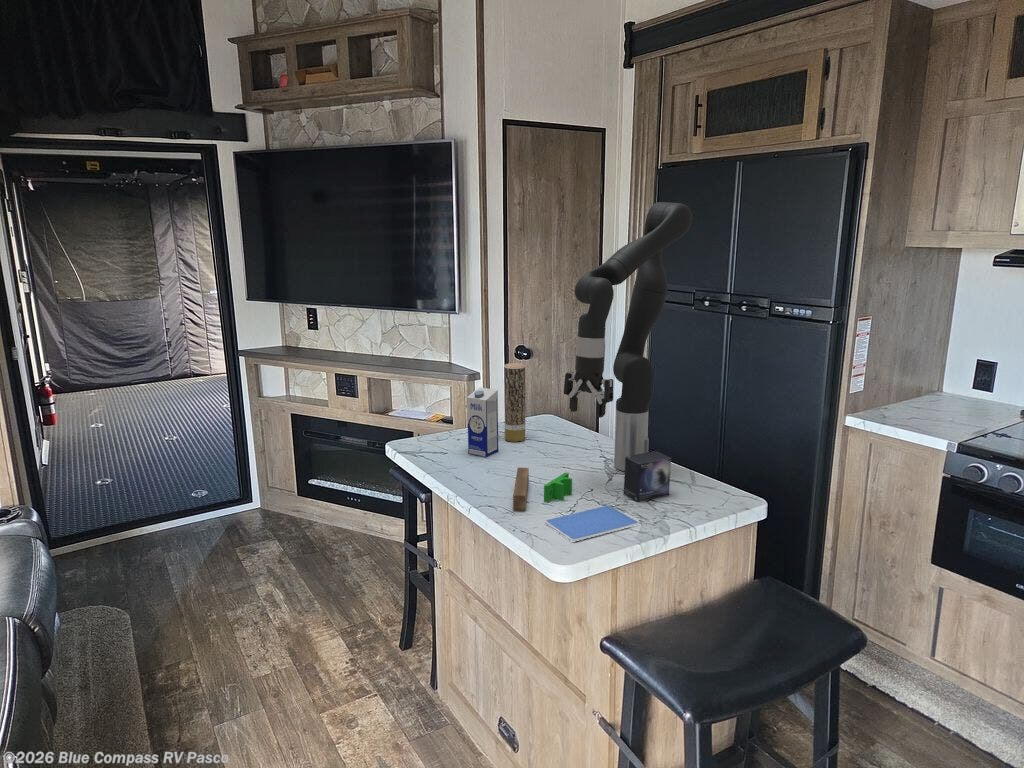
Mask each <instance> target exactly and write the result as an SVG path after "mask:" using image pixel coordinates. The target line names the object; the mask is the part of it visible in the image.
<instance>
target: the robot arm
mask: <svg viewBox="0 0 1024 768" xmlns="http://www.w3.org/2000/svg"><path fill="white" fill-rule="evenodd" d="M692 222H693V213H692V211H691V209H690V207H689V206H688V205H686V204H684V203H679V202H666V201H660V202H659V201H658V202H655V203H653V204H652V205H651V206H650V208H649V210H648V211H647V214H646V218H645V223H644V228H643V229H644V230H643V236H641V237H639V238H637V239H635V240H633V241H630V242H628V243H626V244H625V245H623V246H621V248H619V249H618V250H617V251H615V253H613V254H612V255H611V256H610V257H609V258H608V259H607V260H606V261H605V262H604V263H602V264H601V265H598V266H596V267H595V268H593V269H591V270H590V271H588V272H587V273H585V274H584V275H582V277H580V278H579V279H578V281H577V282H576V284H575V287H574V296H575V298H576V300H577V301H579V302H580V303H582V304H586V305H589V309H588V311H587V312H586V313H583V314H581V315H580V316H579V318H578V327H577V339H576V346H575V347H576V348H575V365H574V370H575V373H574V371H571V372H566V373H565V374H564V384H563V394H564V395H567V396H568V397H569V406H568V407H569V410H570V412H572V413H575V412H578V404H579V403H578V402H579V401H578V400H579V397H578V396H579V395H580V394H581V392H582V393H584V392H586V393H589V394H592V395H593V397H594V398H595V399H596V400H597V409H596V411H597V412H596V417H597V418H603V417H604V416H605V415H606V411H607V410H606V409H607V408H606V407H607V403H611V402H613V401H614V379H613V378H608V379H606V378H604V377H603V375H604V370H605V356H606V354H605V353H606V338H605V337H606V323H607V319H608V316H609V314H610V310H611V307H612V303H613V300H614V287H613V286H618V285H621V284H623V283H624V282H625V281H626V280H627V279H628V278H629V277H630V276H632V274H633V273H634V272H636V271H637V272H636V276H635V280H634V284H633V288H632V292H631V293H632V294H631V297H630V302H629V308H628V312H627V317H626V320H625V325H624V330H623V334H622V337H621V341H620V344H619V345H618V346H619V347H618V349H617V352H616V356H615V358H614V362H613V367H612V370H613V375H614V377H615V378H616V380H617V381H618V382H619V383H621V394H620V397H618V398H617V399H616V401H615V424H614V425H615V427H614V429H615V430H614V457H613V461H614V463H613V466H614V468H615V469H617V470H618V471H622V472H625V457H626V456H631V455H637V454H642V453H648V452H649V436H648V434H649V433H648V432H649V429H648V428H649V409H650V404H651V402H652V397H653V389H654V366H653V364H652V362H651V361H650V360H649V359H648V358H647V357H646V356H644V351H645V349H646V348H645V347H646V342H647V340H648V338H649V335H650V332H652V330H653V328H654V327H655V325H656V323H657V322H658V321H659V318H660V317H661V316H662V315H661V314H662V313H663V309H664V307H665V303H666V298H667V293H668V288H669V287H668V286H669V285H668V279H667V274H666V271H665V266H664V263H663V250H664V249H666V248H667V247H668V246H670V245H671V244H673V243H674V242H676V241H677V240H680V238H682V237H684V235H686V234H687V233H688V231H689V230H690V228H691V225H692ZM574 382H575V383H576V384H575V385H574ZM602 386H603V387H602Z"/></svg>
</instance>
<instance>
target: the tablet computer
mask: <svg viewBox="0 0 1024 768" xmlns="http://www.w3.org/2000/svg"><path fill="white" fill-rule="evenodd" d="M545 524H546V525H545ZM638 524H640V522H639V521H637V520H635V519H634V518H632V517H630V516H628V515H627V514H625V513H624V512H623V511H622V512H621V511H619V510H618V509H616V508H614V507H613V506H611V505H607V504H606V505H603V506H599V507H595V508H591V509H587V510H584V511H577V512H574V513H570V514H566V515H562V516H557V517H554V518H549V519H546V520H544V525H545V526H547V525H548V526H549V527H548V526H547V527H548V528H550V527H551V528H552V529H554V530H556V531H557V532H559V533H560V534H562V535H563V536H565V537H567V538H568V539H570V540H572V541H577V540H582V539H586V538H589V539H591V538H590V537H593V538H595V537H594V536H597V537H599V536H598V535H600V534H604V535H606V534H605V533H608V534H610V533H609V532H612V533H614V532H613V531H616V530H619V529H622V528H626V527H630V526H634V525H638ZM551 528H550V529H551ZM552 529H551V530H552ZM554 530H553V531H554ZM557 532H556V533H557ZM616 532H617V531H616ZM560 534H559V535H560ZM563 536H562V537H563ZM586 540H587V539H586ZM582 541H583V540H582Z"/></svg>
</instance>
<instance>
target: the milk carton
mask: <svg viewBox="0 0 1024 768" xmlns="http://www.w3.org/2000/svg"><path fill="white" fill-rule="evenodd" d="M498 391H499V390H498V389H494V388H486V387H480V386H479V387H478V388H476V389H474V391H473V392H472V393H470V394H469V395H467V397H466V399H467V401H466V402H467V405H466V406H467V408H466V409H467V447H468V448H467V449H468V455H473V456H477V457H482V458H486V457H487V458H489V457H490V455H491V456H493V455H495V454H497V453H499V395H498V393H499V392H498ZM496 452H497V453H496ZM494 453H495V454H494ZM492 454H493V455H492ZM488 456H489V457H488Z"/></svg>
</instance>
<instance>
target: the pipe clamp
mask: <svg viewBox="0 0 1024 768" xmlns="http://www.w3.org/2000/svg"><path fill="white" fill-rule="evenodd" d="M569 475H570V474H569V472H563V473H562V474H560V475H559V476H557V477H555V478H554V479H552V480H550V481H549V482H547V483H546V484H544V485H543V502H545V503H549V502H551V501H552V500H557V499H558V501H564V500H565V495H568V496H572V494H573V478H571V477H569ZM553 498H554V499H553Z"/></svg>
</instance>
